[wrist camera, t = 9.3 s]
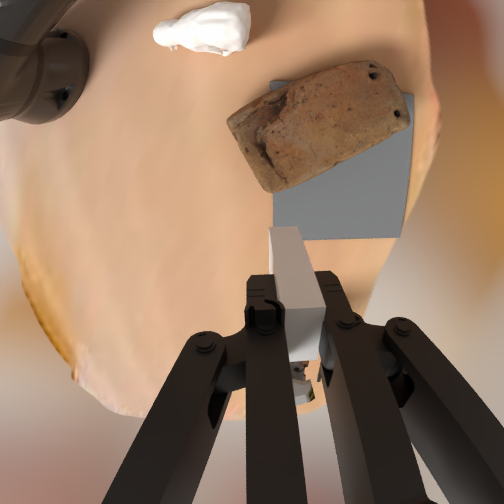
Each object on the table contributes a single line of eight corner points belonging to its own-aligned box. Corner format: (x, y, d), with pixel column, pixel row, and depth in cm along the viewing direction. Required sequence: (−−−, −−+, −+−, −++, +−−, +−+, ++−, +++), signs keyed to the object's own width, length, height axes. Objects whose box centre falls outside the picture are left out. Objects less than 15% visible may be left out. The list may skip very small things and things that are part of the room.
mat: (270, 81, 32) (270, 81, 31) (411, 94, 32) (413, 94, 31) (273, 239, 42) (273, 241, 42) (398, 236, 42) (399, 237, 42)
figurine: (240, 321, 50) (237, 392, 37) (306, 318, 50) (321, 388, 37) (242, 355, 54) (241, 422, 41) (302, 353, 54) (312, 418, 41)
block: (268, 189, 38) (397, 127, 33) (267, 205, 31) (423, 129, 26) (226, 118, 34) (361, 55, 29) (216, 117, 28) (381, 42, 23)
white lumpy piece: (245, 45, 23) (132, 51, 23) (253, 59, 30) (161, 60, 31) (251, -7, 20) (139, 1, 20) (257, 16, 27) (166, 19, 28)
